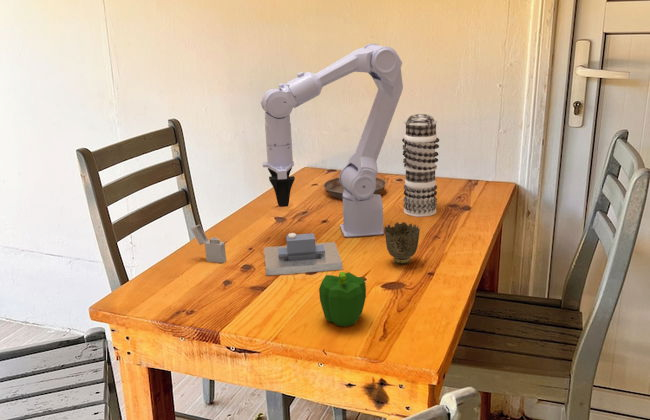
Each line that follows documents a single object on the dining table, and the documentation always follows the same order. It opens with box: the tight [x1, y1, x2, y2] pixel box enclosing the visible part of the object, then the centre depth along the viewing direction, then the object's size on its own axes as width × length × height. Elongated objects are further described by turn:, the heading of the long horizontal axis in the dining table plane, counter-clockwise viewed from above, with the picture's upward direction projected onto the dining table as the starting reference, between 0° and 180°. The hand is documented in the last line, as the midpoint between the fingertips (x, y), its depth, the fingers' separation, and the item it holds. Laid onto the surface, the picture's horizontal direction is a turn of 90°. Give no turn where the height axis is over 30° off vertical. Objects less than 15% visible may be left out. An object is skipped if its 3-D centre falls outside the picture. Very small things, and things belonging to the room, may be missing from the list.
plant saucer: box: [323, 176, 387, 200], centre depth 193 cm, size 18×18×3 cm
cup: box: [383, 221, 421, 266], centre depth 144 cm, size 8×7×8 cm
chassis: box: [263, 241, 343, 277], centre depth 147 cm, size 16×12×2 cm
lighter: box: [191, 223, 227, 264], centre depth 149 cm, size 7×2×8 cm, turn 70°
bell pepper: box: [318, 271, 367, 327], centre depth 120 cm, size 8×8×10 cm
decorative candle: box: [401, 113, 440, 218], centre depth 172 cm, size 9×9×25 cm
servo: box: [278, 232, 325, 261], centre depth 147 cm, size 10×4×6 cm, turn 96°
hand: (282, 201), depth 156 cm, fingers open, 7 cm apart
